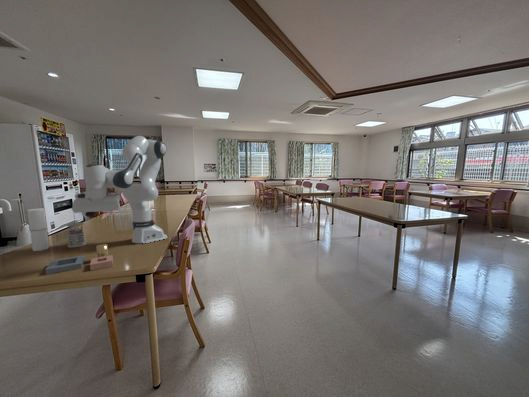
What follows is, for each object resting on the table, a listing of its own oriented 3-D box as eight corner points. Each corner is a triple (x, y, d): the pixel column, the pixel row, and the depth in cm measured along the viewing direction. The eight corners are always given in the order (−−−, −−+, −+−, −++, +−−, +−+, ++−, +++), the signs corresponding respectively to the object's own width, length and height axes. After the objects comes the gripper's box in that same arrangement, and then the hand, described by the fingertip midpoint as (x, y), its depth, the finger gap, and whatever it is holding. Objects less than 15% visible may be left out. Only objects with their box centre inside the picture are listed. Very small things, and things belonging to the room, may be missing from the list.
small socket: (113, 260, 120) (112, 255, 119) (112, 266, 112) (112, 260, 112) (92, 264, 115) (91, 258, 114) (90, 270, 107) (90, 264, 107)
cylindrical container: (30, 251, 132) (25, 210, 129) (35, 247, 138) (30, 208, 135) (46, 249, 135) (41, 209, 132) (50, 246, 141) (46, 208, 138)
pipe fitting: (109, 256, 125) (108, 243, 124) (109, 260, 120) (108, 246, 119) (97, 258, 122) (95, 244, 121) (96, 262, 117) (94, 248, 116)
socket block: (84, 259, 121) (84, 255, 121) (81, 268, 110) (81, 263, 110) (52, 264, 114) (52, 260, 113) (46, 274, 103) (45, 269, 103)
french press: (90, 242, 149) (87, 206, 146) (74, 248, 137) (70, 209, 134) (77, 242, 150) (73, 206, 147) (60, 248, 138) (55, 209, 135)
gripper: (119, 193, 125) (121, 216, 127) (73, 194, 114) (75, 220, 116) (119, 194, 120) (121, 218, 121) (70, 195, 109) (72, 222, 111)
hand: (98, 219), depth 119 cm, fingers open, 8 cm apart
